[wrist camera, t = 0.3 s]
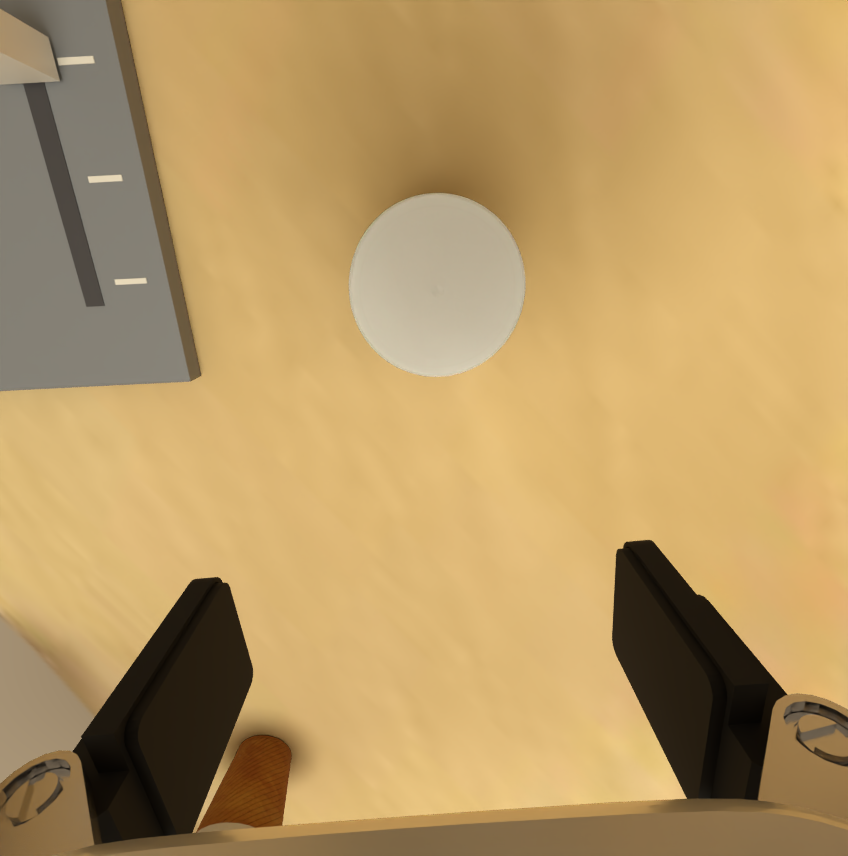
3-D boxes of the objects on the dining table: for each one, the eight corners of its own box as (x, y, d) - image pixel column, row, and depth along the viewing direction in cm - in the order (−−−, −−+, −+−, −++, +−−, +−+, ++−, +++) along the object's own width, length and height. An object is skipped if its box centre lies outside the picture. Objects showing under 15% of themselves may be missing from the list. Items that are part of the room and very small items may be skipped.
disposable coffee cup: (210, 759, 57) (158, 885, 45) (250, 712, 54) (205, 832, 43) (279, 791, 59) (245, 919, 47) (320, 747, 56) (295, 870, 45)
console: (-217, -20, 31) (-259, -38, 29) (112, -40, 31) (91, -59, 29) (-52, 388, 41) (-76, 394, 39) (201, 375, 41) (189, 381, 39)
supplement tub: (350, 303, 39) (311, 328, 25) (402, 189, 36) (391, 146, 22) (453, 357, 40) (471, 409, 26) (511, 252, 38) (564, 249, 24)
